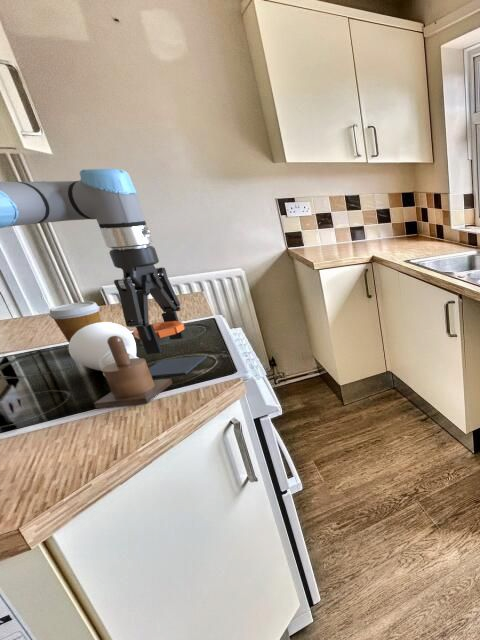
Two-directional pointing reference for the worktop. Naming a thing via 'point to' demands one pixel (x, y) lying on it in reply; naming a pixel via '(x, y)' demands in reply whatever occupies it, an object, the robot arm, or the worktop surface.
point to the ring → (165, 329)
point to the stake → (128, 379)
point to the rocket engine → (99, 344)
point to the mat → (175, 366)
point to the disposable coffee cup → (75, 317)
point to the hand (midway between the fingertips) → (166, 345)
